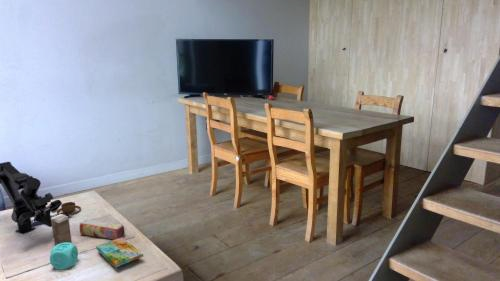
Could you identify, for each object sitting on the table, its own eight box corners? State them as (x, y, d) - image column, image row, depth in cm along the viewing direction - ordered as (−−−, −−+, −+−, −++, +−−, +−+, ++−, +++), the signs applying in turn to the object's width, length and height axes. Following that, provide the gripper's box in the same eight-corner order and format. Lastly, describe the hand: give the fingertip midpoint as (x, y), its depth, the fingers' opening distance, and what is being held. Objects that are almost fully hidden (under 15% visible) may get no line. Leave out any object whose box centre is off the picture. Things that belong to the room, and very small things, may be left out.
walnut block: (54, 247, 176) (50, 218, 173) (64, 242, 181) (60, 213, 177) (62, 249, 174) (58, 220, 171) (72, 244, 179) (68, 216, 175)
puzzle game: (121, 235, 177) (142, 252, 163) (122, 244, 178) (143, 262, 164) (95, 244, 170) (115, 262, 155) (97, 254, 171) (116, 273, 156)
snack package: (126, 235, 187) (125, 222, 185) (117, 242, 181) (116, 228, 179) (88, 229, 193) (86, 217, 191) (79, 236, 187) (77, 223, 185)
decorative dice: (79, 259, 167) (76, 241, 165) (71, 269, 159) (68, 251, 157) (60, 259, 166) (57, 242, 164) (51, 270, 159) (48, 252, 157)
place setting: (90, 210, 217) (89, 200, 215) (64, 226, 198) (62, 215, 197) (64, 206, 222) (62, 196, 220) (35, 221, 203) (34, 211, 202)
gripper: (18, 196, 169) (38, 225, 167) (56, 183, 185) (76, 209, 183) (9, 210, 174) (29, 238, 172) (48, 196, 190) (66, 221, 188)
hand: (51, 226), depth 179 cm, fingers closed
